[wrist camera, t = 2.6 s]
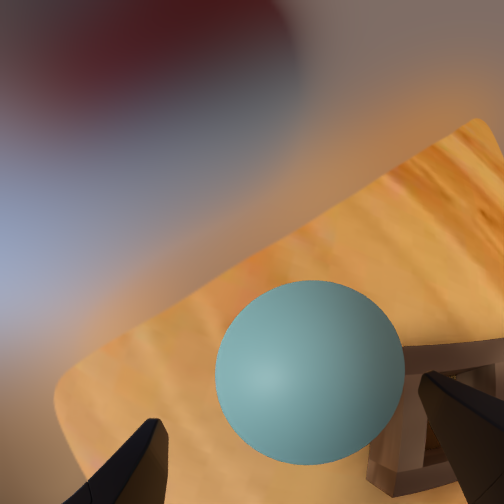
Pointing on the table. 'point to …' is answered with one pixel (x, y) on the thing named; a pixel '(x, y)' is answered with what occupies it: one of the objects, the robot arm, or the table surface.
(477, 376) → the hole block
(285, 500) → the table surface
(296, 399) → the teal cylinder rod
